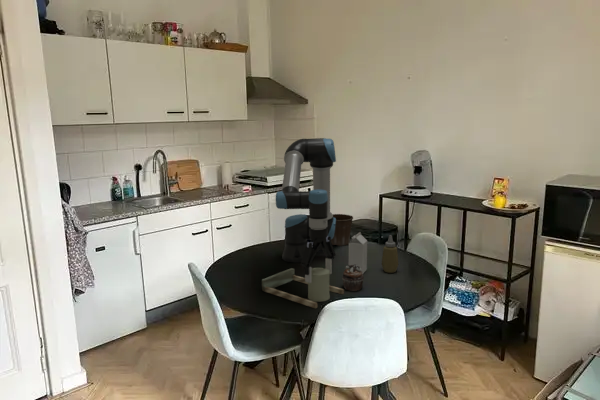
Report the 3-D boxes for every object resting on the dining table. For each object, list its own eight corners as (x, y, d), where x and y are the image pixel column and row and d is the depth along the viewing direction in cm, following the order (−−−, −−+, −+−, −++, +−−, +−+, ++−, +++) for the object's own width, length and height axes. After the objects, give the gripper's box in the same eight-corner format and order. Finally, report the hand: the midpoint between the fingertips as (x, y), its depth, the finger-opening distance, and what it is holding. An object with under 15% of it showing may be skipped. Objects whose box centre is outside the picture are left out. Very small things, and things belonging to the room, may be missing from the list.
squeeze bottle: (398, 274, 215) (399, 237, 212) (381, 273, 217) (381, 237, 213) (398, 268, 223) (399, 233, 220) (381, 267, 225) (382, 232, 221)
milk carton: (366, 270, 222) (367, 232, 218) (362, 274, 215) (363, 236, 212) (353, 268, 225) (353, 231, 221) (348, 272, 218) (348, 234, 215)
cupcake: (337, 286, 201) (337, 264, 199) (355, 282, 206) (355, 261, 204) (350, 293, 193) (350, 271, 191) (368, 288, 198) (368, 267, 196)
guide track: (262, 290, 197) (261, 279, 197) (291, 278, 212) (291, 268, 211) (315, 308, 178) (315, 296, 177) (343, 293, 193) (343, 282, 192)
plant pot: (358, 244, 266) (358, 217, 263) (336, 248, 258) (336, 221, 255) (342, 238, 280) (342, 212, 277) (320, 242, 272) (320, 216, 269)
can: (306, 293, 193) (306, 266, 191) (328, 292, 194) (328, 266, 192) (309, 302, 184) (308, 274, 182) (331, 301, 185) (331, 273, 183)
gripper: (305, 235, 172) (306, 288, 176) (343, 223, 191) (343, 271, 194) (291, 232, 177) (292, 283, 180) (329, 221, 196) (329, 268, 199)
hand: (318, 277), depth 187 cm, fingers open, 13 cm apart
